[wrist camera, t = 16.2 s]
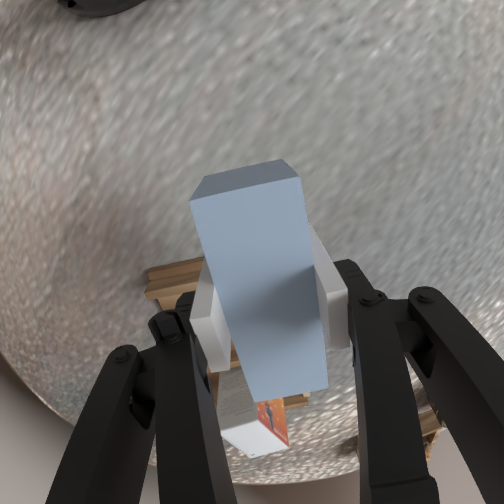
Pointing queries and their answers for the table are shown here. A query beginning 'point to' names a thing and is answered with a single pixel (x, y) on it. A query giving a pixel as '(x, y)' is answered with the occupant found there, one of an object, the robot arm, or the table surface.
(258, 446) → the small box
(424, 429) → the open wooden box
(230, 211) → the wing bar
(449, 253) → the table surface
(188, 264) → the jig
